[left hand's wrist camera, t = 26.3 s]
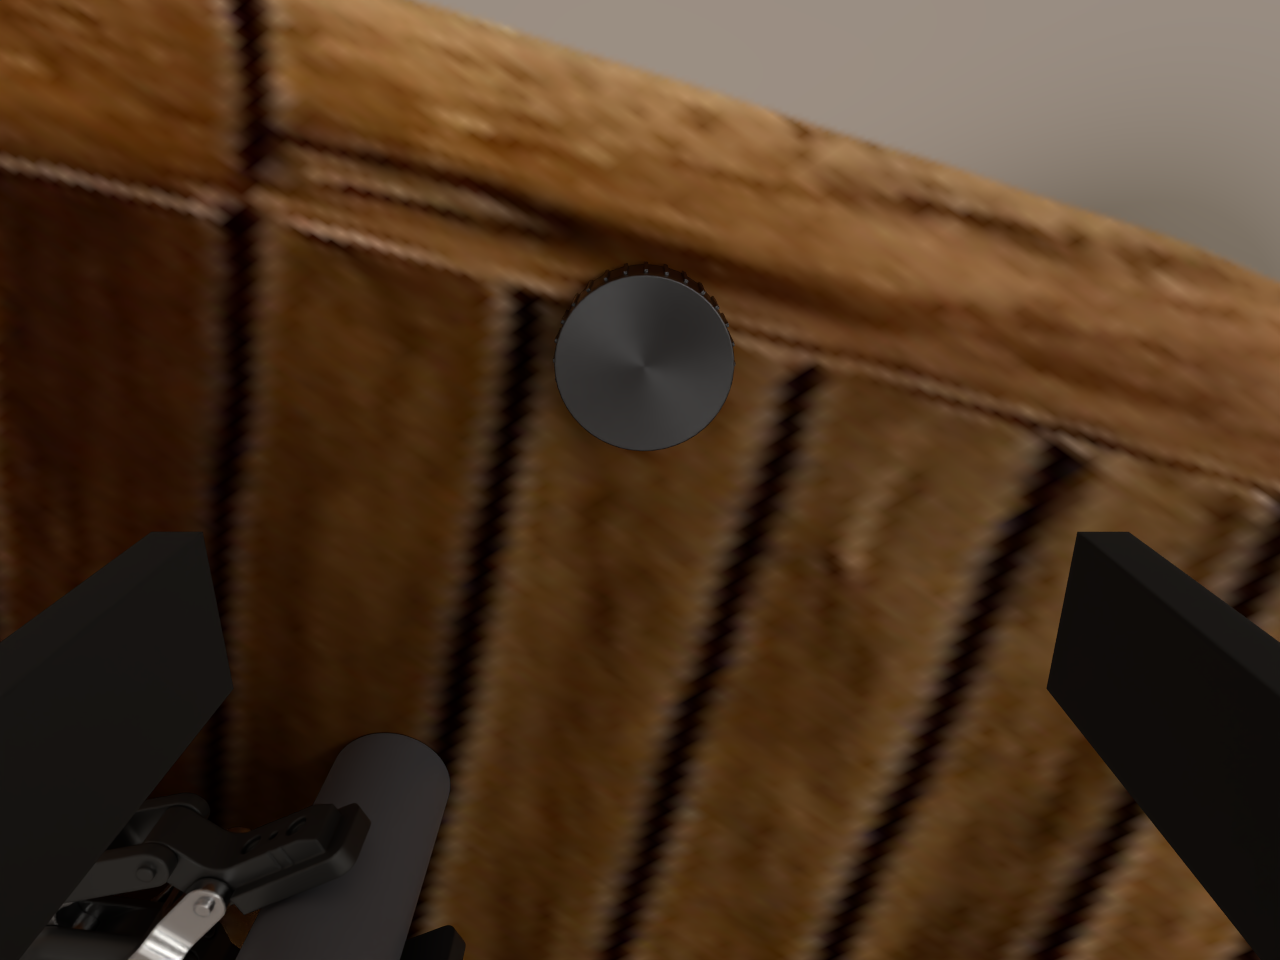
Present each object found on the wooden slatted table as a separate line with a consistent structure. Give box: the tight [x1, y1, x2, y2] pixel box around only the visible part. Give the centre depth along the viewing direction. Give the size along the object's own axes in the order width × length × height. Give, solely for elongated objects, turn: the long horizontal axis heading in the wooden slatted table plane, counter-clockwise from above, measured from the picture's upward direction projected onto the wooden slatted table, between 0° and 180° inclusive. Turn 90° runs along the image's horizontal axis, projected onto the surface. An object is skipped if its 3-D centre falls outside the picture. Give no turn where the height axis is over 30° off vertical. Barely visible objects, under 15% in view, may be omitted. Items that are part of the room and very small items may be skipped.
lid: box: [553, 262, 735, 451], centre depth 24 cm, size 5×5×2 cm
